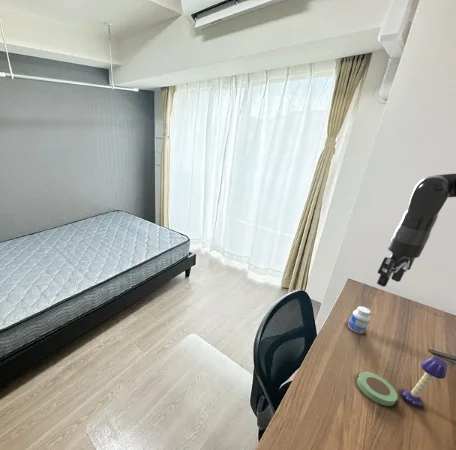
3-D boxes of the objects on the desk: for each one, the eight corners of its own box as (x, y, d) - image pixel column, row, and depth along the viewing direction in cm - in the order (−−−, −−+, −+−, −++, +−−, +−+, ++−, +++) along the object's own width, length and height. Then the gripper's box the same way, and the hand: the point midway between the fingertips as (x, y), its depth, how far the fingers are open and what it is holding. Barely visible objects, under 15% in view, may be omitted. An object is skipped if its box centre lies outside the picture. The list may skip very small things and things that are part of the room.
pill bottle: (347, 321, 101) (355, 302, 98) (363, 327, 98) (372, 308, 95) (347, 329, 97) (356, 310, 93) (364, 336, 94) (374, 316, 91)
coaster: (393, 388, 75) (396, 383, 74) (396, 412, 68) (399, 408, 68) (357, 371, 80) (359, 366, 79) (356, 392, 73) (359, 387, 73)
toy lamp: (427, 406, 70) (456, 365, 64) (416, 411, 69) (445, 370, 63) (407, 390, 74) (432, 350, 68) (397, 394, 73) (421, 354, 67)
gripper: (412, 248, 70) (389, 293, 77) (436, 241, 76) (413, 284, 82) (381, 237, 77) (363, 280, 83) (406, 232, 82) (387, 273, 88)
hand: (388, 282), depth 82 cm, fingers open, 8 cm apart
